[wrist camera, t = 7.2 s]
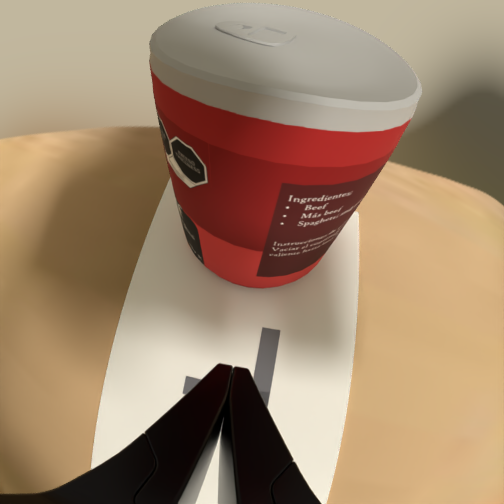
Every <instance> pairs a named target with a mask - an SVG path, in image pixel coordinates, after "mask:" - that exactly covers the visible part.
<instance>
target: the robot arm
mask: <svg viewBox="0 0 504 504" xmlns="http://www.w3.org/2000/svg"><path fill="white" fill-rule="evenodd" d="M232 371H233V372H232ZM221 427H222V428H221ZM220 432H221V434H220ZM144 433H145V434H144ZM144 433H142V434H141V435H140V436H139V437H137V438H136V439H135V440H134V441H133V442H131V443H130V444H129V445H128V446H126V447H125V448H124V449H123V450H121V451H120V452H119V453H117V454H116V455H114V456H113V457H111V458H110V459H108V460H106V461H105V462H103V463H102V464H100V465H98V466H97V467H95V468H93V469H91V470H90V471H88V472H86V473H84V474H82V475H81V476H79V477H77V478H75V479H73V480H71V481H70V482H68V483H66V484H64V485H62V486H60V487H57V488H55V489H52V490H49V491H45V492H40V493H27V494H0V504H195V503H196V501H197V498H198V495H199V493H200V490H201V487H202V485H203V482H204V479H205V476H206V474H207V471H208V468H209V465H210V463H211V460H212V457H213V454H214V451H215V449H216V446H217V443H218V440H219V436H220V446H219V474H218V504H322V503H321V502H320V501H319V499H318V498H317V497H316V495H315V494H314V492H313V491H312V490H311V488H310V487H309V485H308V483H307V482H306V480H305V478H304V477H303V475H302V473H301V472H300V470H299V468H298V466H297V464H296V462H293V461H294V459H293V457H292V455H291V453H290V451H289V449H288V447H287V445H286V444H285V442H284V440H283V438H282V436H281V434H280V432H279V430H278V428H277V426H276V424H275V422H274V420H273V418H272V416H271V414H270V412H269V410H268V408H267V406H266V404H265V402H264V400H263V398H262V396H261V394H260V391H259V389H258V387H257V385H256V383H255V381H254V379H253V377H252V375H251V372H250V370H249V369H248V368H244V367H238V366H235V367H234V368H233V366H232V365H228V364H223V363H218V364H217V365H216V366H215V367H214V368H213V369H212V370H211V371H210V372H209V373H208V374H206V375H205V376H204V377H203V378H202V379H201V380H200V381H199V382H198V383H197V384H196V385H195V386H194V387H193V388H192V389H191V390H190V391H189V392H188V393H186V394H185V395H184V396H183V397H182V398H181V399H180V400H179V401H178V402H177V403H176V404H175V405H174V406H172V407H171V408H170V409H169V410H168V411H167V412H166V413H165V414H164V415H163V416H161V417H160V418H159V419H158V420H157V421H156V422H155V423H154V424H152V425H151V426H150V427H149V428H148V429H147V430H146V431H145V432H144Z"/></svg>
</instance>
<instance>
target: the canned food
mask: <svg viewBox="0 0 504 504" xmlns="http://www.w3.org/2000/svg"><path fill="white" fill-rule="evenodd" d="M149 45H150V52H151V54H150V60H149V62H150V70H151V76H152V82H153V93H154V99H155V104H156V109H157V115H158V120H159V125H160V131H161V135H162V140H163V145H164V150H165V155H166V159H167V164H168V168H169V173H170V177H171V181H172V186H173V190H174V194H175V198H176V202H177V206H178V210H179V214H180V218H181V222H182V226H183V230H184V233H185V236H186V239H187V242H188V245H189V246H190V248H191V250H192V251H193V253H194V255H195V256H196V257H197V258H198V259H199V260H200V261H201V263H202V264H203V265H204V266H205V267H207V268H208V269H209V270H211V271H212V272H213V273H215V274H216V275H218V276H219V277H220V278H222V279H225V280H227V281H229V282H231V283H233V284H236V285H240V286H244V287H248V288H261V289H263V288H272V287H279V286H282V285H285V284H288V283H291V282H295V281H296V280H298V279H300V278H302V277H303V276H305V275H307V274H308V273H309V272H310V271H311V270H312V269H313V268H314V267H315V266H316V265H317V264H318V263H319V261H320V260H321V259H322V257H323V256H324V254H325V253H326V252H327V250H328V249H329V247H330V246H331V245H332V243H333V242H334V240H335V239H336V238H337V236H338V235H339V233H340V232H341V230H342V229H343V227H344V226H345V225H346V223H347V222H348V220H349V219H350V217H351V216H352V214H353V213H354V211H355V210H356V208H357V207H358V205H359V204H360V202H361V201H362V199H363V198H364V196H365V195H366V193H367V192H368V190H369V189H370V187H371V186H372V184H373V183H374V181H375V179H376V178H377V176H378V175H379V173H380V172H381V170H382V169H383V167H384V165H385V164H386V162H387V161H388V159H389V157H390V156H391V154H392V152H393V151H394V149H395V148H396V146H397V144H398V142H399V140H400V137H401V136H402V134H403V132H404V131H405V129H406V127H407V126H408V124H409V122H410V120H411V119H412V116H413V114H414V112H415V110H416V107H417V102H418V101H419V98H420V96H421V94H422V89H421V82H420V81H419V79H418V77H417V75H416V73H415V71H414V70H413V69H412V68H411V67H410V66H409V64H408V63H407V62H406V61H405V60H404V59H403V58H402V57H401V56H400V55H399V54H398V53H397V52H395V51H394V50H393V49H392V48H391V47H389V46H388V45H387V44H385V43H384V42H382V41H380V40H379V39H378V38H376V37H374V36H373V35H371V34H369V33H367V32H366V31H364V30H362V29H360V28H358V27H355V26H353V25H351V24H349V23H346V22H344V21H341V20H339V19H336V18H333V17H331V16H327V15H324V14H321V13H317V12H314V11H310V10H305V9H301V8H296V7H291V6H284V5H276V4H265V3H264V4H263V3H233V4H222V5H215V6H210V7H204V8H200V9H197V10H193V11H190V12H187V13H184V14H182V15H179V16H177V17H175V18H173V19H171V20H169V21H168V22H166V23H164V24H163V25H161V26H160V27H159V28H158V29H157V30H156V31H155V32H154V33H153V34H152V37H151V40H150V43H149Z"/></svg>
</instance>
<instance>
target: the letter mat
mask: <svg viewBox="0 0 504 504" xmlns="http://www.w3.org/2000/svg"><path fill="white" fill-rule="evenodd" d="M358 287H359V213H358V212H355V211H354V213H353V214H352V216H351V217H350V219H349V220H348V222H347V223H346V225H345V226H344V227H343V229H342V230H341V232H340V233H339V235H338V236H337V238H336V239H335V240H334V242H333V243H332V245H331V246H330V247H329V249H328V250H327V252H326V253H325V254H324V256H323V257H322V259H321V260H320V261H319V263H318V264H317V265H316V266H315V267H314V268H313V269H312V270H311V271H310V272H309V273H308V274H307V275H305V276H303V277H302V278H300V279H298V280H296V281H295V282H291V283H288V284H285V285H282V286H279V287H272V288H263V289H261V288H248V287H244V286H240V285H236V284H233V283H231V282H229V281H227V280H225V279H222V278H220V277H219V276H218V275H216V274H215V273H213V272H212V271H211V270H209V269H208V268H207V267H205V266H204V265H203V264H202V263H201V261H200V260H199V259H198V258H197V257H196V256H195V255H194V253H193V251H192V250H191V248H190V246H189V245H188V242H187V239H186V236H185V233H184V230H183V226H182V222H181V218H180V214H179V210H178V206H177V202H176V198H175V194H174V190H173V186H172V181H171V177H170V179H169V181H168V184H167V186H166V188H165V191H164V193H163V196H162V198H161V200H160V203H159V205H158V208H157V210H156V213H155V215H154V218H153V220H152V223H151V226H150V228H149V231H148V234H147V236H146V239H145V242H144V244H143V247H142V250H141V253H140V256H139V259H138V261H137V264H136V267H135V270H134V273H133V276H132V279H131V283H130V286H129V289H128V292H127V295H126V299H125V302H124V305H123V309H122V312H121V316H120V319H119V323H118V326H117V330H116V334H115V338H114V342H113V346H112V350H111V354H110V358H109V362H108V367H107V371H106V376H105V380H104V385H103V390H102V395H101V401H100V406H99V412H98V418H97V424H96V431H95V438H94V445H93V453H92V462H91V469H93V468H95V467H97V466H98V465H100V464H102V463H103V462H105V461H106V460H108V459H110V458H111V457H113V456H114V455H116V454H117V453H119V452H120V451H121V450H123V449H124V448H125V447H126V446H128V445H129V444H130V443H131V442H133V441H134V440H135V439H136V438H137V437H139V436H140V435H141V434H142V433H144V432H145V431H146V430H147V429H148V428H149V427H150V426H151V425H152V424H154V423H155V422H156V421H157V420H158V419H159V418H160V417H161V416H163V415H164V414H165V413H166V412H167V411H168V410H169V409H170V408H171V407H172V406H174V405H175V404H176V403H177V402H178V401H179V400H180V399H181V398H182V397H183V396H184V395H185V394H186V393H188V392H189V391H190V390H191V389H192V388H193V387H194V386H195V385H196V384H197V383H198V382H199V381H200V380H201V379H202V378H203V377H204V376H205V375H206V374H208V373H209V372H210V371H211V370H212V369H213V368H214V367H215V366H216V365H217V364H218V363H223V364H228V365H232V366H233V368H234V367H235V366H238V367H244V368H248V369H249V370H250V372H251V375H252V377H253V379H254V381H255V383H256V385H257V387H258V389H259V391H260V394H261V396H262V398H263V400H264V402H265V404H266V406H267V408H268V410H269V412H270V414H271V416H272V418H273V420H274V422H275V424H276V426H277V428H278V430H279V432H280V434H281V436H282V438H283V440H284V442H285V444H286V445H287V447H288V449H289V451H290V453H291V455H292V457H293V459H294V461H293V462H296V464H297V466H298V468H299V470H300V472H301V473H302V475H303V477H304V478H305V480H306V482H307V483H308V485H309V487H310V488H311V490H312V491H313V492H314V494H315V495H316V497H317V498H318V499H319V501H320V502H321V503H322V504H326V503H327V499H328V496H329V492H330V488H331V484H332V480H333V476H334V472H335V468H336V463H337V459H338V454H339V450H340V445H341V440H342V434H343V429H344V423H345V418H346V412H347V405H348V399H349V392H350V384H351V376H352V368H353V359H354V349H355V338H356V325H357V309H358ZM232 372H233V371H232ZM221 428H222V427H221ZM144 434H145V433H144ZM220 434H221V432H220ZM219 446H220V436H219V440H218V443H217V446H216V449H215V451H214V454H213V457H212V460H211V463H210V465H209V468H208V471H207V474H206V476H205V479H204V482H203V485H202V487H201V490H200V493H199V495H198V498H197V501H196V503H195V504H218V474H219Z"/></svg>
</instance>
